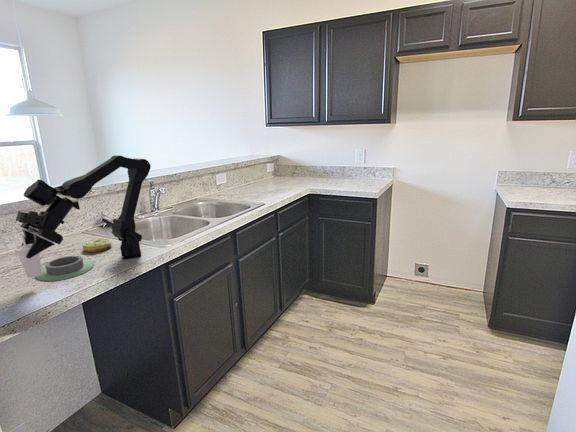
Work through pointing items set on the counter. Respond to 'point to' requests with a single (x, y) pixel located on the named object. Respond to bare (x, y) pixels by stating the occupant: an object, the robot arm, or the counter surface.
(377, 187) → the counter surface
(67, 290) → the counter surface
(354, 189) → the counter surface
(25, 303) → the counter surface
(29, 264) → the smoothie
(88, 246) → the decorated donut
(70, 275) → the putting green cup
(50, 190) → the robot arm
